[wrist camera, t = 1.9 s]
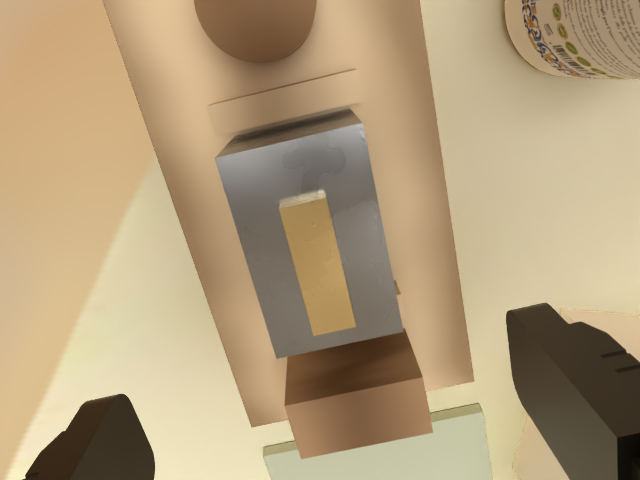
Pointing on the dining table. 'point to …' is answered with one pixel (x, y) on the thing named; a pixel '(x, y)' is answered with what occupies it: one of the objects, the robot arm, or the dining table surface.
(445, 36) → the dining table surface
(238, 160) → the lever cap
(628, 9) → the bath foam
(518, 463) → the milk
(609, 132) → the dining table surface
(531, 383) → the robot arm
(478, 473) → the mat
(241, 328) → the wooden peg board
